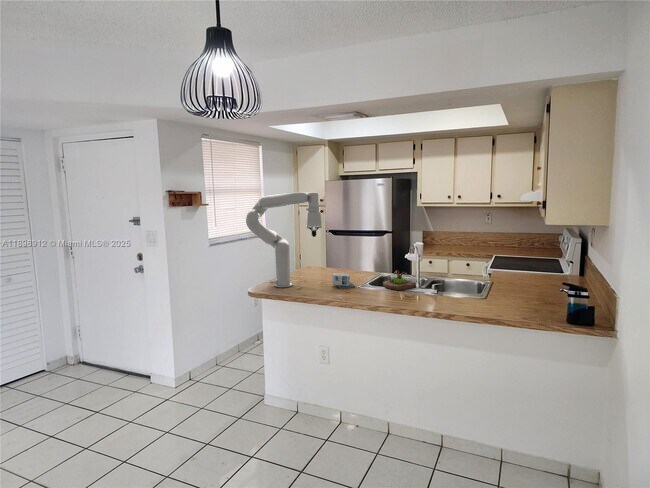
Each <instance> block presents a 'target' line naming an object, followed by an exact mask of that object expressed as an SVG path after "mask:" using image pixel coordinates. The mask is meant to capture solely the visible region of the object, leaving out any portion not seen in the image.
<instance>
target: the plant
mask: <svg viewBox="0 0 650 488" xmlns="http://www.w3.org/2000/svg"><path fill="white" fill-rule="evenodd" d="M403 274H404V275H406V276H407V274H408V273H407V272H406V271H402V272H401V273H400V271H399V269H397V270H395V271H394V272H393V277H391V279H389V280H386V281H385V280H384V281H383V282H382V286H383V287H384V288H386V289H389V290H390V289H391V290H396V291H398V290H399V291H401V290H408V289H414V288H415V287H416V285H417V284H416V282H414V281H411V280H408V279H407V277H404V276H403ZM394 275H395V276H394Z"/></svg>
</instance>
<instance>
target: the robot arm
mask: <svg viewBox="0 0 650 488" xmlns="http://www.w3.org/2000/svg"><path fill="white" fill-rule="evenodd" d="M319 196H320V195H319V192H317V191H308V192H307V191H305V192H304V191H297V192H291V193H289V192H288V193H277V194H271V195H270V194H269V195H263V196H261V197H259V198H258V200H257V202H256V203H255V205H254V206H253V207H252V208H251V209H250V210H248V211H247V213H246V216H245V222H246V226H247V228H248V229H249V231H250V232H252V234H254V235H256V237H258V238H259V239H260V240H261V241H263V242H264V243H265V244H267V245H270V246H271V247H272V248H274V252H275V253H274V254H275V275H276V276H275V277H276V278H275V279H274V280H269V284H274V287H276V288H289V287H292V286H293V283H292V282H291V269H290V268H291V267H290V266H291V264H290V263H291V261H290V243H289V241H288V240H286V239H285V238H284V237H283V236H281V235H280V234H279V233H277V232H276V231H275V230H273V229H269V228H268V227H266V226H265V225H264V224H263V223H262V222H260V219H261V217H262V216H263V215H264V214H265V213H266V212H267V210H268V209H272V208H273V209H274V208H281V207H282V208H283V207H285V206H290V205H297V204H298V205H299V204H305V203H307V208H305V211H306V219H305V220H306V221H305V223H306V224H305V225H306V226H305V228H306V229H309V230H310V231H311V236H312V238H314V237H315V238H316V236H317V231H318V229H321V228H322V215H321V212H320V209H319V208H320V200H319V199H320V198H319Z"/></svg>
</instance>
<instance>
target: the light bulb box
mask: <svg viewBox="0 0 650 488" xmlns="http://www.w3.org/2000/svg"><path fill="white" fill-rule="evenodd" d="M349 281H350V275H349V273H341V272H340V273H338V272H333V273H332V278H331V284H332V285H333V286H336V285H343V286H349Z"/></svg>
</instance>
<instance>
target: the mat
mask: <svg viewBox="0 0 650 488" xmlns="http://www.w3.org/2000/svg"><path fill="white" fill-rule="evenodd" d="M335 286H336V287H337V288H338V289H339V290H342V289H355V288H356V286H355V285H354V284H353V283H352V282H351V281H350V280H349V286H343V285H335Z"/></svg>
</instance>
